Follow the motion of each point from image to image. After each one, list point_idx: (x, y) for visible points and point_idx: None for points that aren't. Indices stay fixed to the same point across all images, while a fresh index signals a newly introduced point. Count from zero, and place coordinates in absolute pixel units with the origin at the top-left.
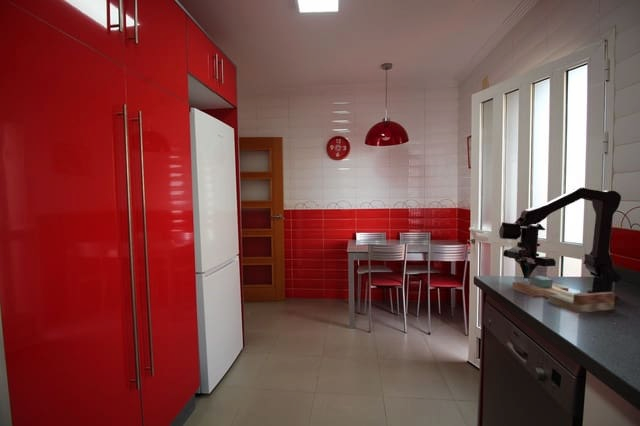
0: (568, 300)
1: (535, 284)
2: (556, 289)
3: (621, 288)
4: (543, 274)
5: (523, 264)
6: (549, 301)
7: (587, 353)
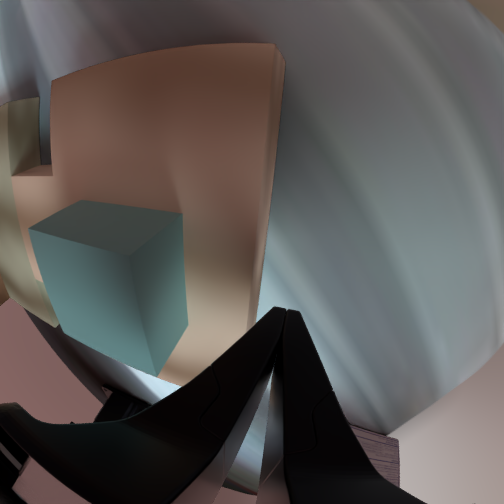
0: None
1: (118, 209)
2: None
3: None
4: None
5: (279, 487)
6: (32, 99)
7: None
